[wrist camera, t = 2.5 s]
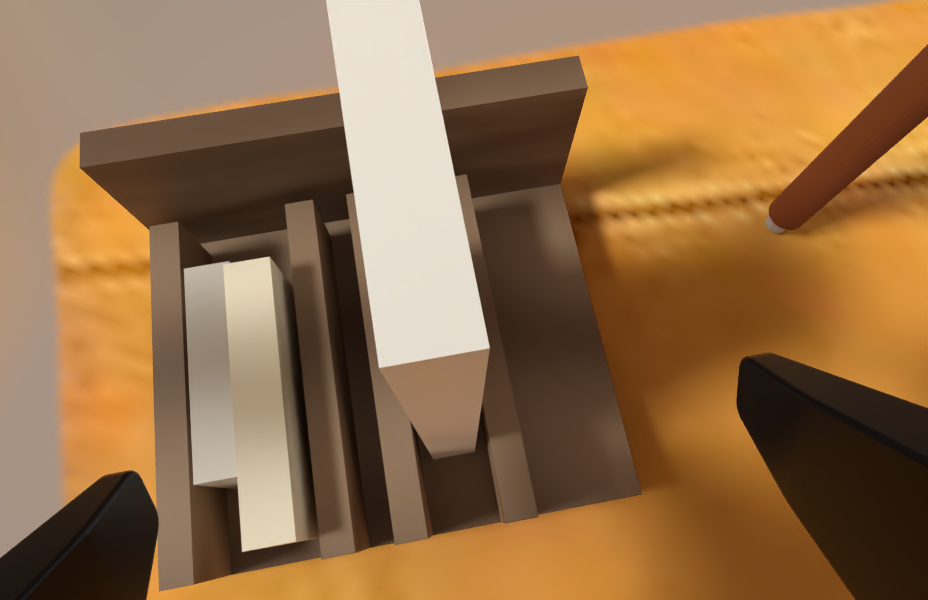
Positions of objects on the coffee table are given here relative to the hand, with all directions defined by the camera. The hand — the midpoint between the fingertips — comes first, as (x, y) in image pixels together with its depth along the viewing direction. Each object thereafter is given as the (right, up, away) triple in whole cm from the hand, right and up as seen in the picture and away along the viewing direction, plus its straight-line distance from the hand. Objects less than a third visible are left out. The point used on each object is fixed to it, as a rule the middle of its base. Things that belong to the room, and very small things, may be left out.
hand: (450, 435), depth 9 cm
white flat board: (-1, 0, +10) cm, 10 cm away
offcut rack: (-2, 0, +11) cm, 11 cm away
